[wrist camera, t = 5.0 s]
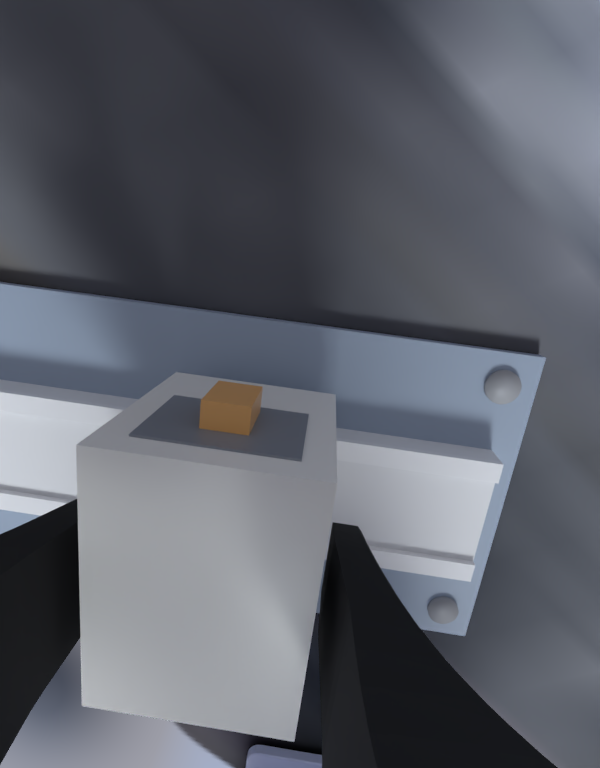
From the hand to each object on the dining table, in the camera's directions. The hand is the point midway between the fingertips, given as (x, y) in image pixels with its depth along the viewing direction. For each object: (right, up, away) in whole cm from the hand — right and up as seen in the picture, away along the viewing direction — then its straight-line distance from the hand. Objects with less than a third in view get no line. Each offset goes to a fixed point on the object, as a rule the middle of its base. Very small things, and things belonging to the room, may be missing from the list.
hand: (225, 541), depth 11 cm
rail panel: (-3, +2, +4) cm, 5 cm away
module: (0, +1, +2) cm, 3 cm away
